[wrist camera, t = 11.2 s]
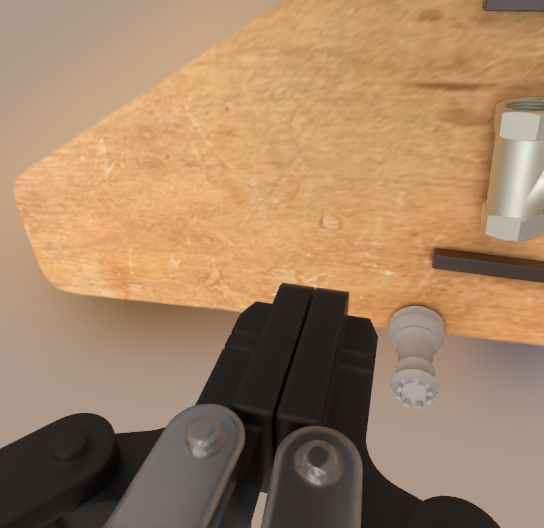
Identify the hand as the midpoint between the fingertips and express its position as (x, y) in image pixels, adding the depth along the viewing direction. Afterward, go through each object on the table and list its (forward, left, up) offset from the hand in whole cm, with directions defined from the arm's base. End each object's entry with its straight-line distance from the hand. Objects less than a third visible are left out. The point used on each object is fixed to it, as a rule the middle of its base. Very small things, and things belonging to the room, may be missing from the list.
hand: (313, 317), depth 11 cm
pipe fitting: (+4, +10, -25) cm, 27 cm away
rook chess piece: (+19, +5, -25) cm, 31 cm away
